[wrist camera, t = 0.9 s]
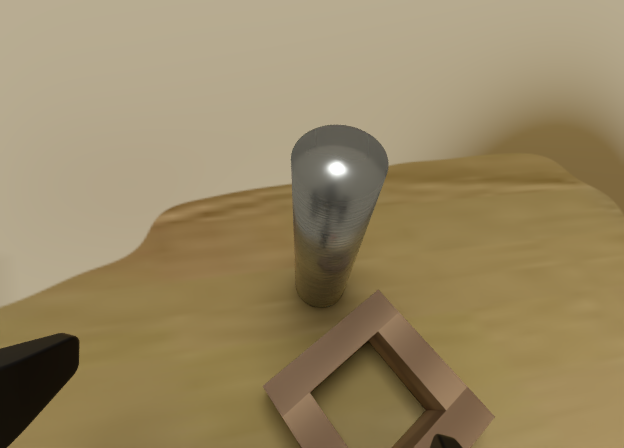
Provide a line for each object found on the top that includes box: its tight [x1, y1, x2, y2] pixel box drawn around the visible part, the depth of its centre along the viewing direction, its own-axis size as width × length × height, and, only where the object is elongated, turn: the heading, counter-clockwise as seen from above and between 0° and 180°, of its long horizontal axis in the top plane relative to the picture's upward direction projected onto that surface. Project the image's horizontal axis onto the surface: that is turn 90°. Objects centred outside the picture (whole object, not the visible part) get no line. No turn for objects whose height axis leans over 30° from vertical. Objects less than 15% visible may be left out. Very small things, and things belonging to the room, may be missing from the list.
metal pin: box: [291, 125, 388, 307], centre depth 17 cm, size 4×4×13 cm
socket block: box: [263, 290, 495, 448], centre depth 17 cm, size 8×8×3 cm
